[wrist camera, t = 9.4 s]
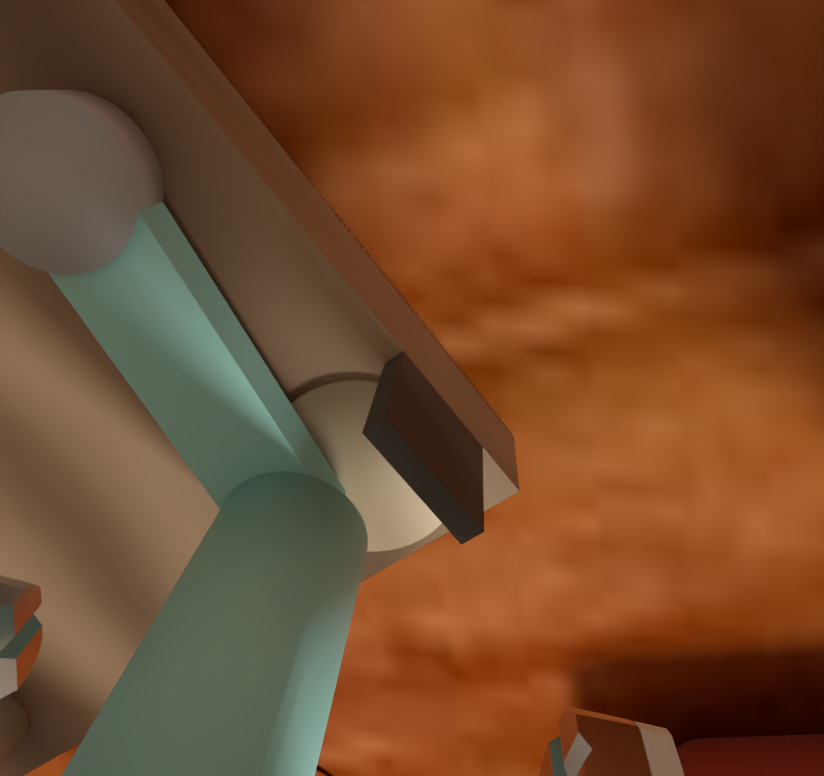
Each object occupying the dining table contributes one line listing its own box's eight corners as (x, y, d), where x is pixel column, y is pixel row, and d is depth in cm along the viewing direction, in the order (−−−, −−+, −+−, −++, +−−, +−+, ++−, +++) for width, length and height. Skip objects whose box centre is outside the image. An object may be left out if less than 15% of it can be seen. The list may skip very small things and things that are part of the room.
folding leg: (-33, 142, 12) (-677, 222, 5) (100, 52, 11) (-463, 13, 5) (281, 580, 16) (138, 952, 9) (399, 538, 15) (336, 913, 8)
